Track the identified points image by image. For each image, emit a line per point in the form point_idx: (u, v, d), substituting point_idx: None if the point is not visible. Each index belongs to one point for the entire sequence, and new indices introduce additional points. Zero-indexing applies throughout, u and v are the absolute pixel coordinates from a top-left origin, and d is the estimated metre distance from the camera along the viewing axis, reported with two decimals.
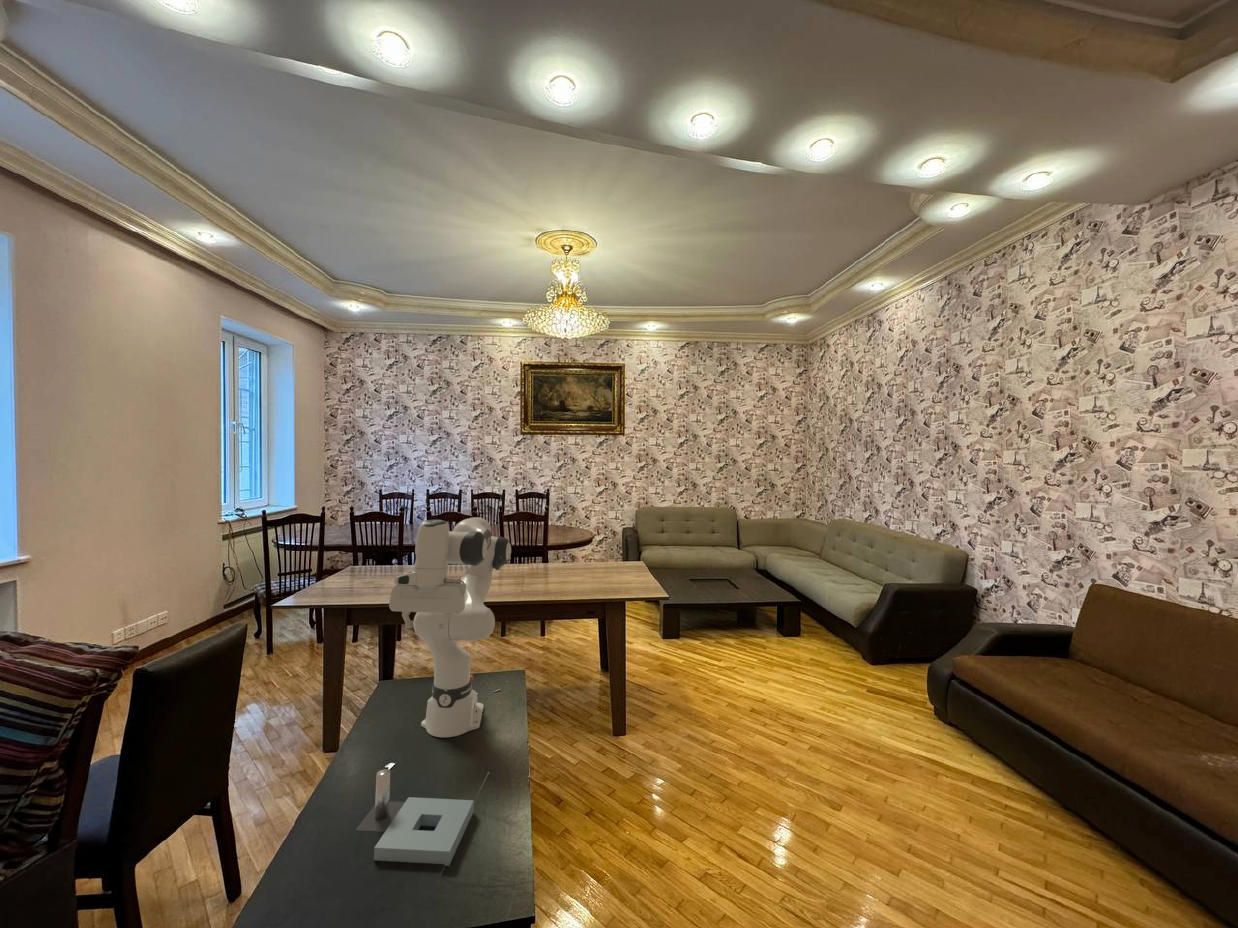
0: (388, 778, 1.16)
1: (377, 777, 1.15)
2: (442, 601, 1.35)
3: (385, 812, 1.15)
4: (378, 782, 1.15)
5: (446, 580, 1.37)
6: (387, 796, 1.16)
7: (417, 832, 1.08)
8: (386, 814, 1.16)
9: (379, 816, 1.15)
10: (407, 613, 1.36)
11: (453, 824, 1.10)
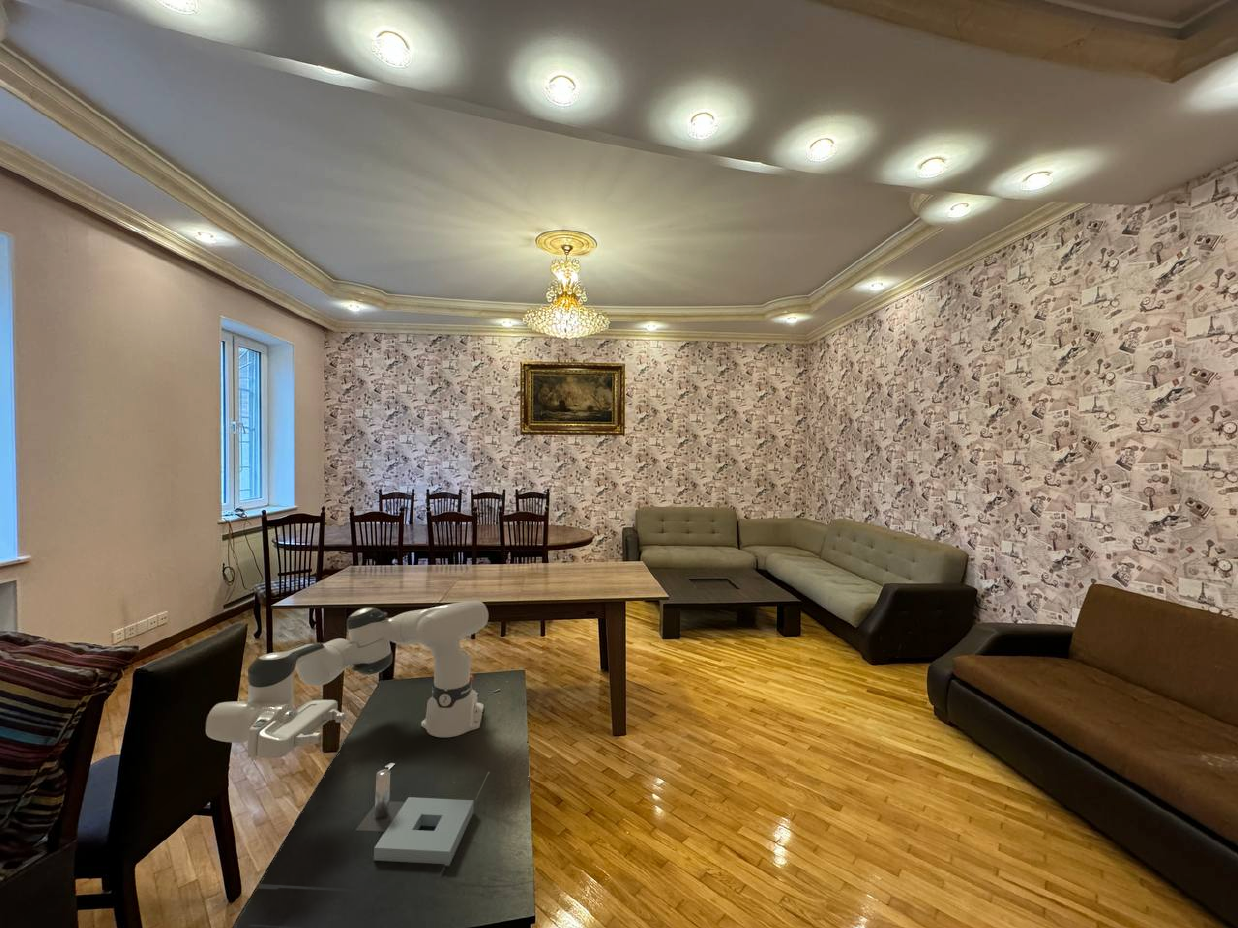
0: (388, 778, 1.16)
1: (377, 777, 1.15)
2: (314, 708, 1.22)
3: (385, 812, 1.15)
4: (378, 782, 1.15)
5: None
6: (387, 796, 1.16)
7: (417, 832, 1.08)
8: (386, 814, 1.16)
9: (379, 816, 1.15)
10: None
11: (453, 824, 1.10)
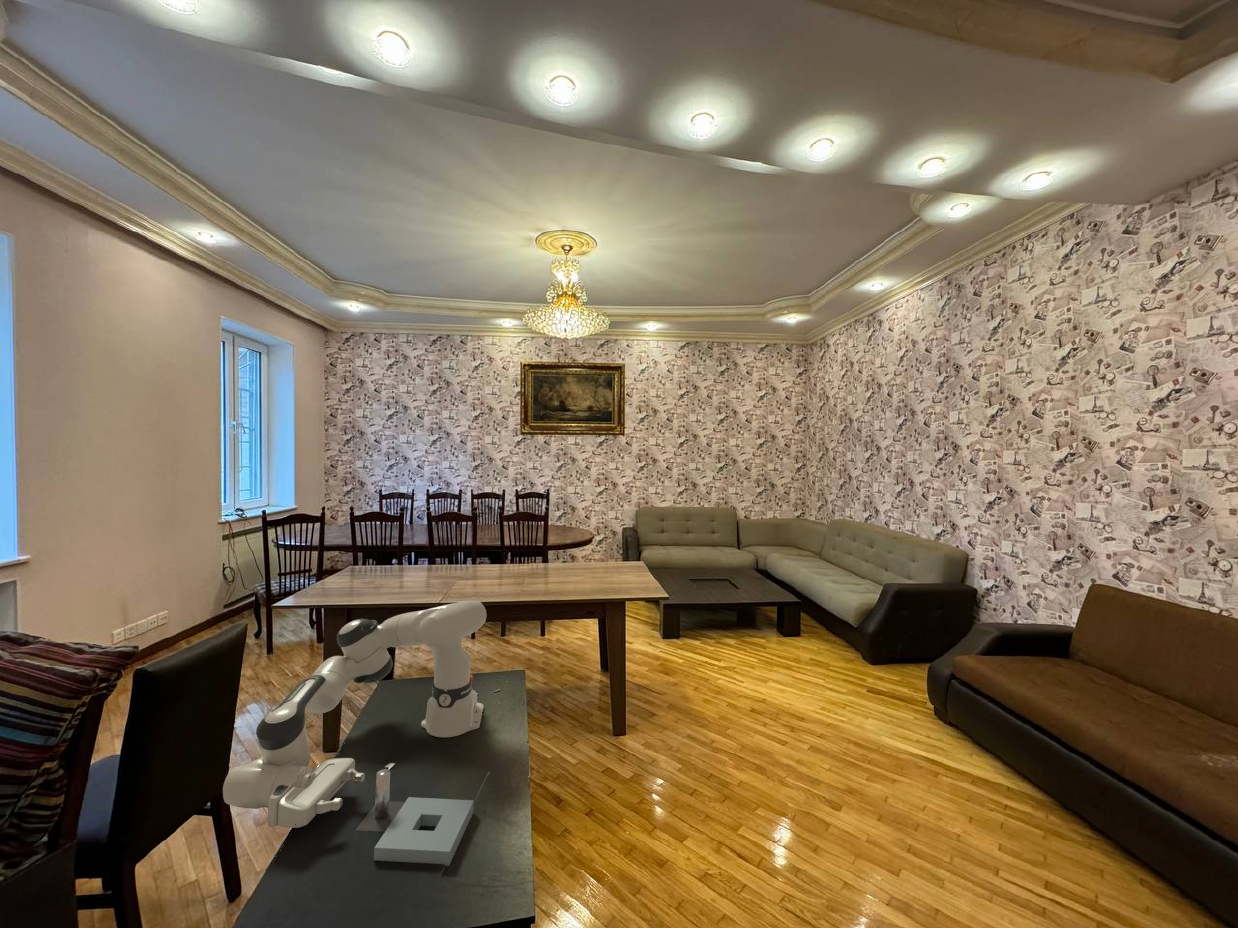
0: (388, 778, 1.16)
1: (377, 777, 1.15)
2: (332, 769, 1.21)
3: (385, 812, 1.15)
4: (378, 782, 1.15)
5: None
6: (387, 796, 1.16)
7: (417, 832, 1.08)
8: (386, 814, 1.16)
9: (379, 816, 1.15)
10: None
11: (453, 824, 1.10)
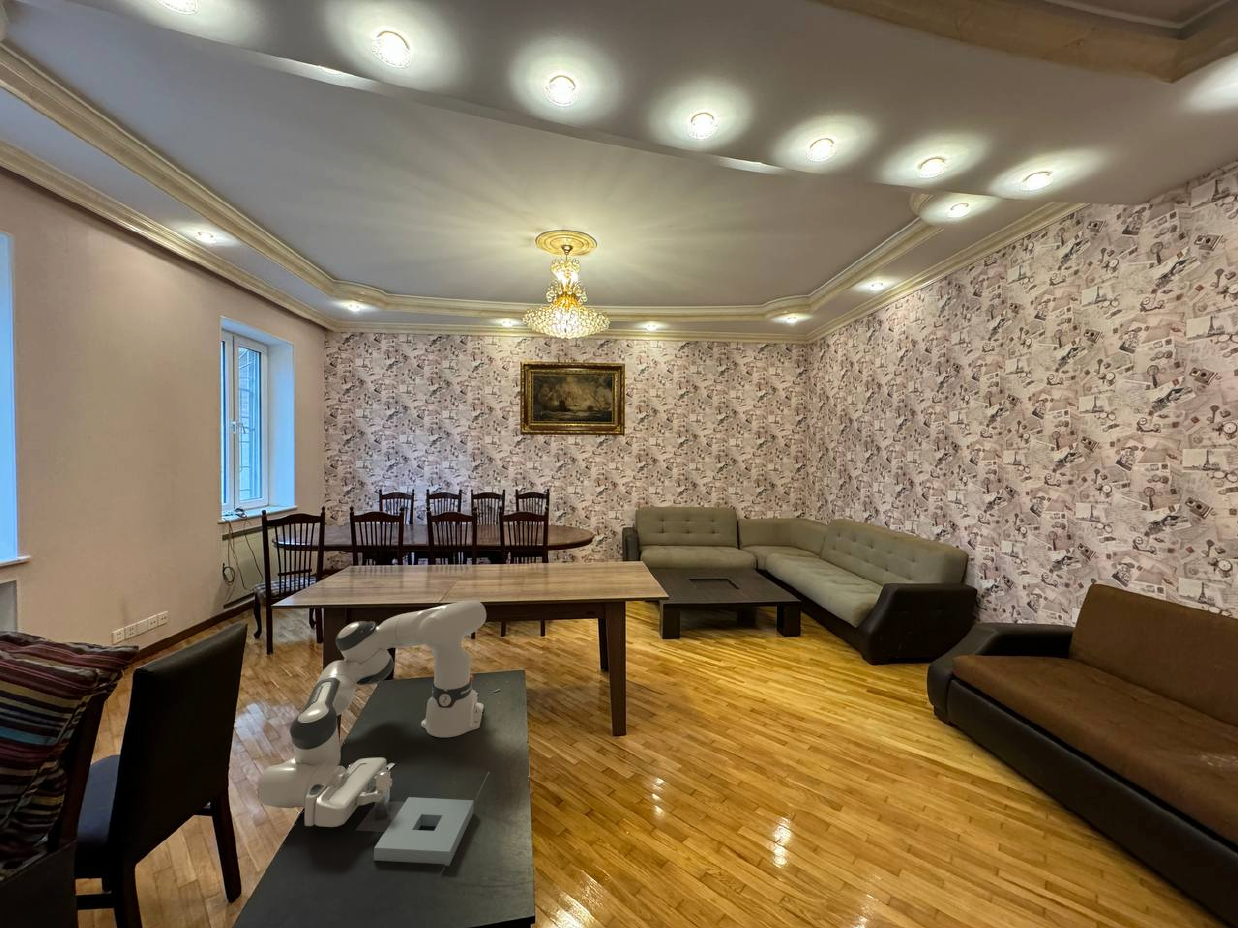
0: (388, 778, 1.16)
1: (377, 777, 1.15)
2: (365, 768, 1.21)
3: (385, 812, 1.15)
4: (378, 782, 1.15)
5: None
6: (387, 796, 1.16)
7: (417, 832, 1.08)
8: (386, 814, 1.16)
9: (379, 816, 1.15)
10: None
11: (453, 824, 1.10)
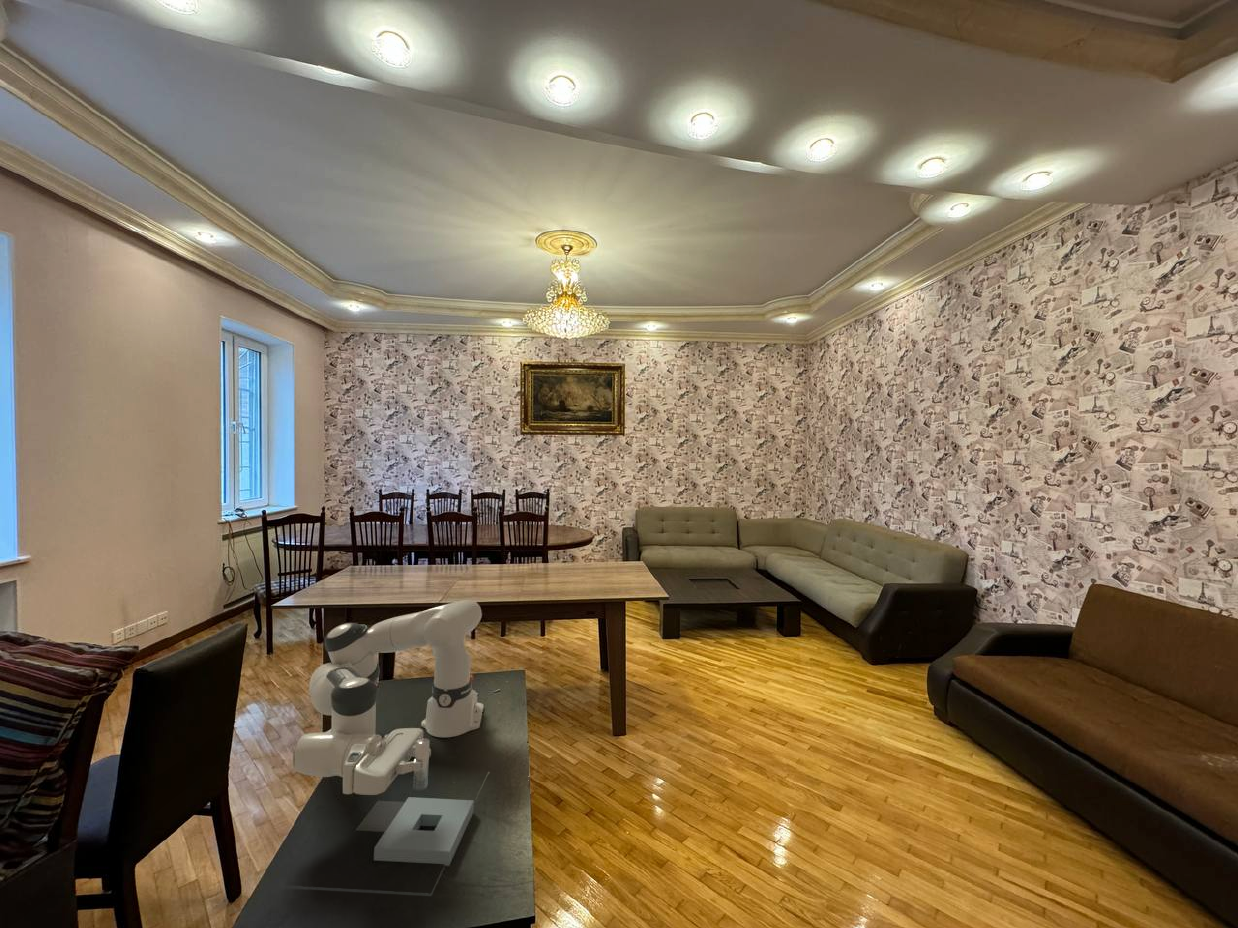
0: (427, 747, 1.11)
1: (416, 746, 1.10)
2: (402, 738, 1.16)
3: (424, 782, 1.10)
4: (417, 751, 1.10)
5: None
6: (426, 766, 1.11)
7: (417, 832, 1.08)
8: (425, 785, 1.11)
9: (418, 786, 1.10)
10: None
11: (453, 824, 1.10)
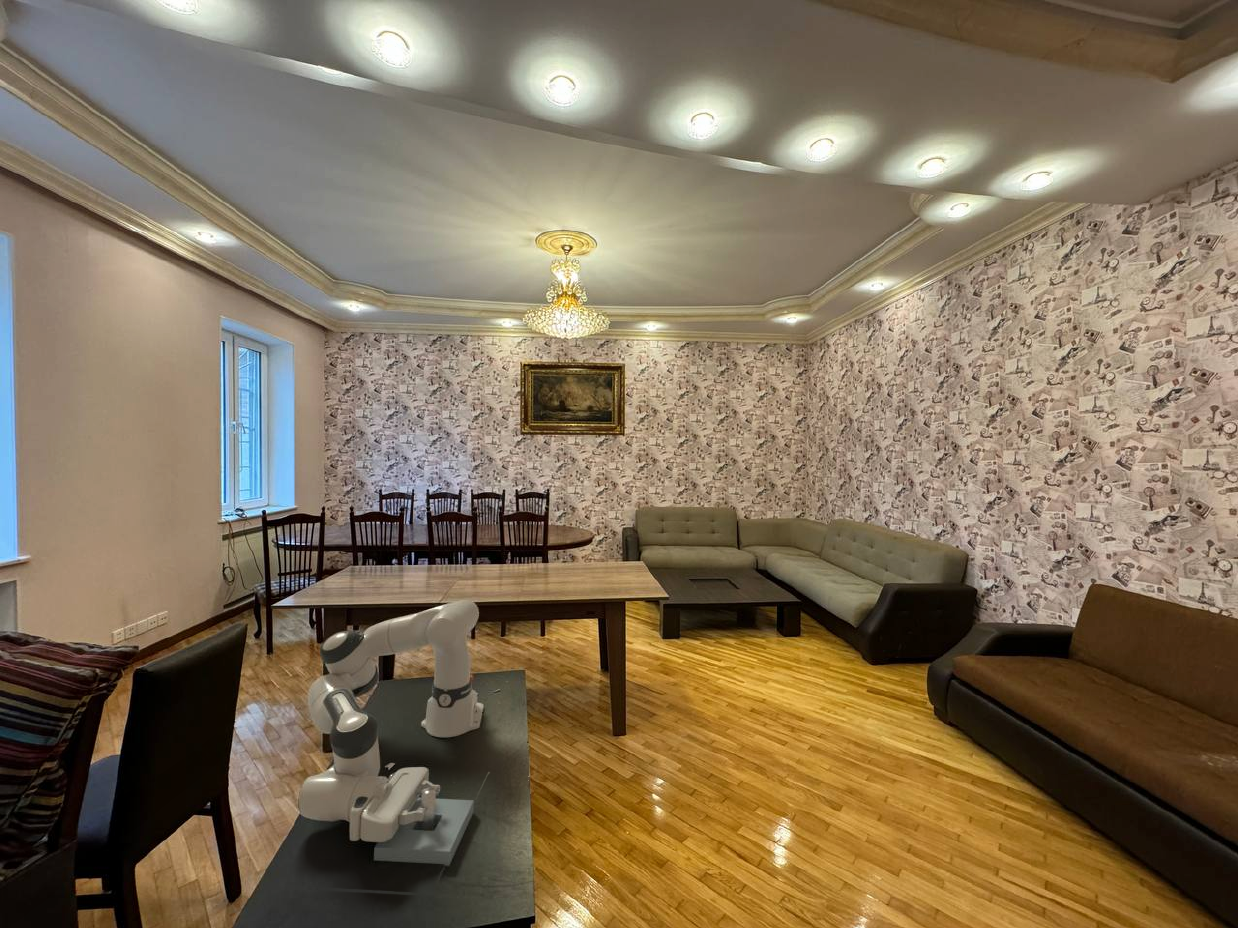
0: (434, 797, 1.11)
1: (422, 796, 1.10)
2: (407, 779, 1.16)
3: None
4: (424, 801, 1.10)
5: None
6: (433, 815, 1.11)
7: (417, 832, 1.08)
8: None
9: None
10: None
11: (453, 824, 1.10)
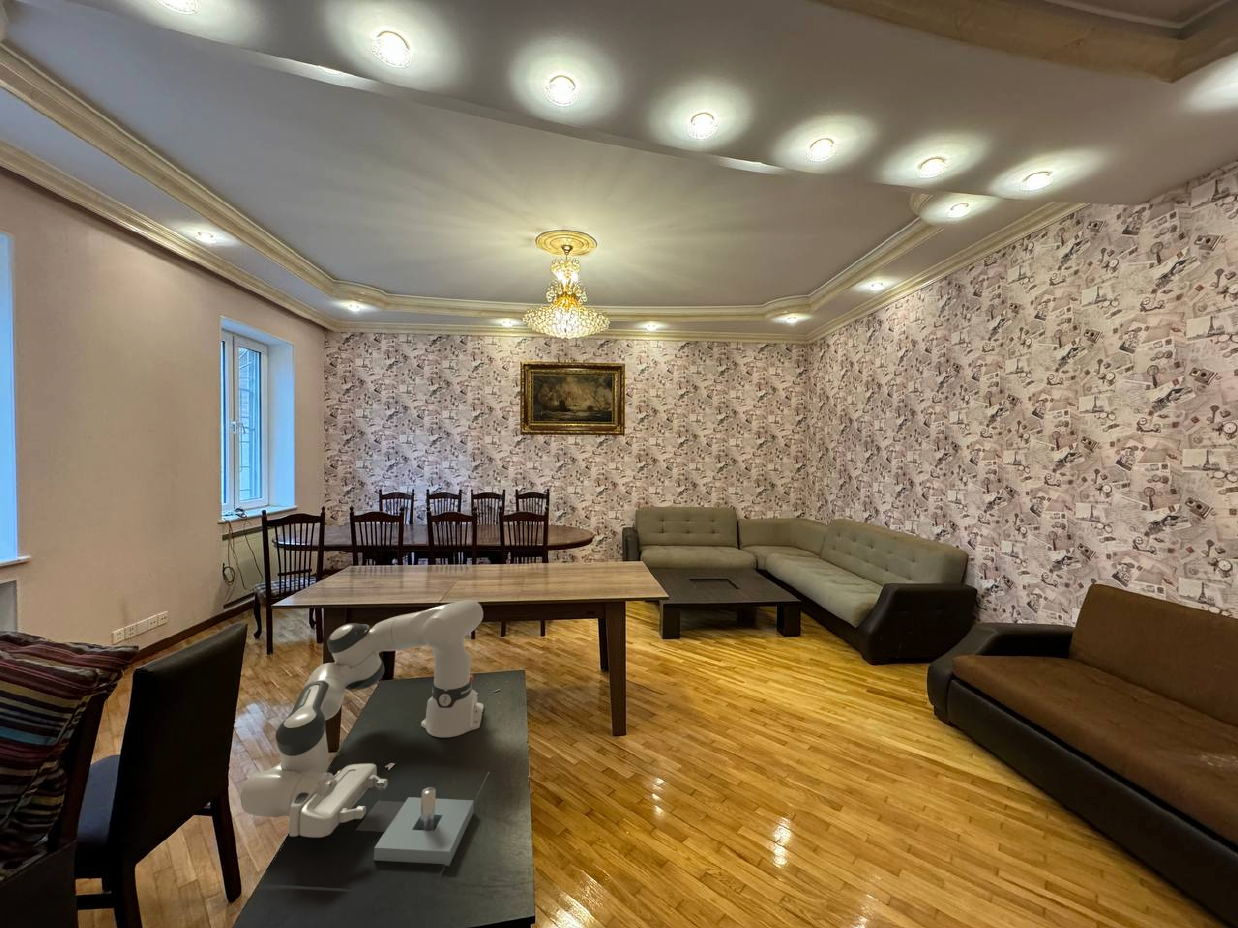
0: (434, 797, 1.11)
1: (422, 796, 1.10)
2: (353, 775, 1.16)
3: None
4: (424, 801, 1.10)
5: None
6: (433, 815, 1.11)
7: (417, 832, 1.08)
8: None
9: None
10: None
11: (453, 824, 1.10)
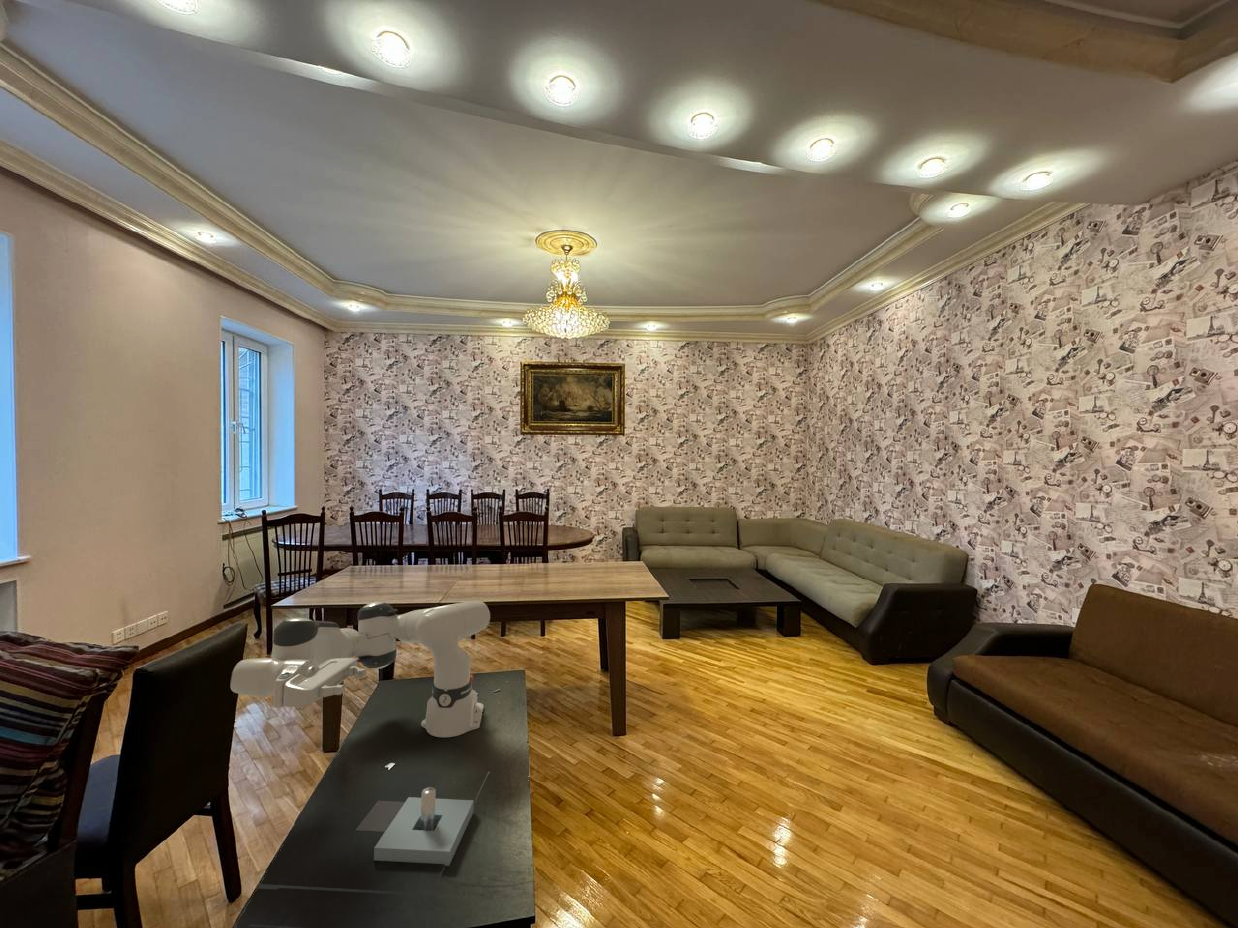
0: (434, 797, 1.11)
1: (422, 796, 1.10)
2: (335, 665, 1.26)
3: None
4: (424, 801, 1.10)
5: None
6: (433, 815, 1.11)
7: (417, 832, 1.08)
8: None
9: None
10: None
11: (453, 824, 1.10)
